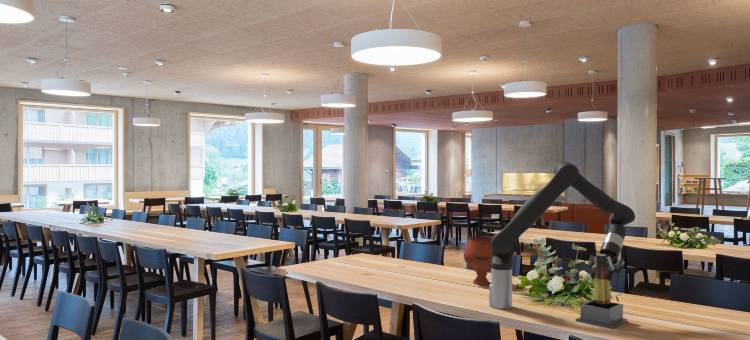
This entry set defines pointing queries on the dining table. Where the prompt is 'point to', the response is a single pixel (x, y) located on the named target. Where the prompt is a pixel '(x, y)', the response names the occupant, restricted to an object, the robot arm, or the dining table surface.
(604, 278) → the sauce bottle
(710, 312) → the dining table surface
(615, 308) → the box
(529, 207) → the robot arm
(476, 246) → the goblet
